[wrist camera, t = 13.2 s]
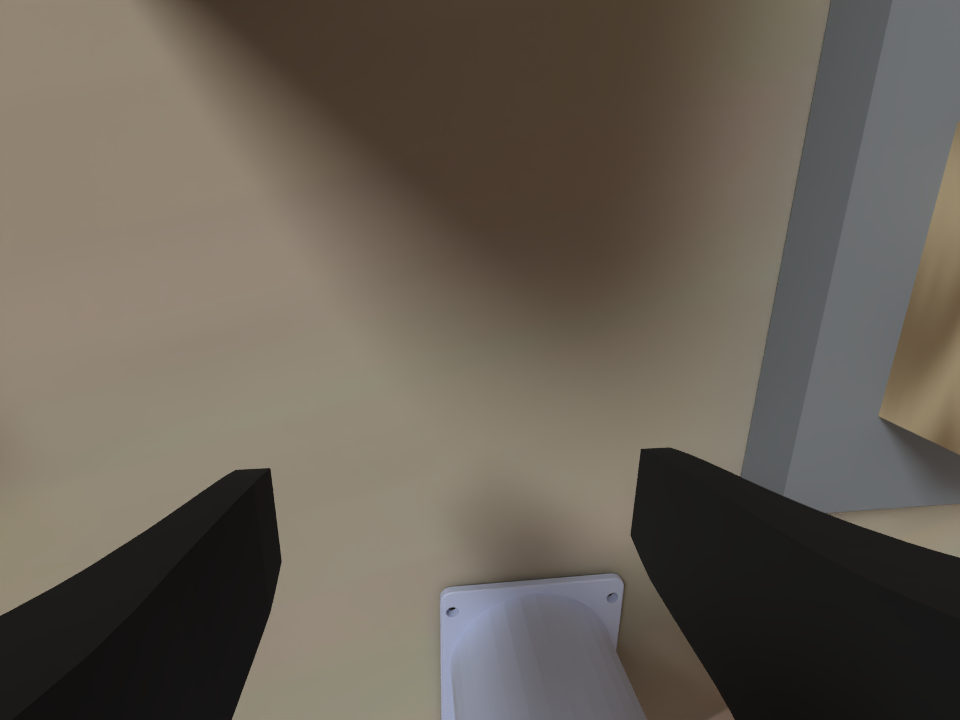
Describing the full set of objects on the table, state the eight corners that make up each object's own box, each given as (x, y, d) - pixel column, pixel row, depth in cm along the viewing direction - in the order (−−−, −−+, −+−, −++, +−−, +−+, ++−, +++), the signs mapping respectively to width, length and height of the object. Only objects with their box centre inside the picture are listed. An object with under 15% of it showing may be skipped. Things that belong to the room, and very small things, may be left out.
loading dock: (980, 467, 24) (1045, 498, 22) (739, 482, 23) (780, 517, 20) (1135, 19, 19) (1245, -7, 16) (831, -3, 17) (903, -36, 15)
